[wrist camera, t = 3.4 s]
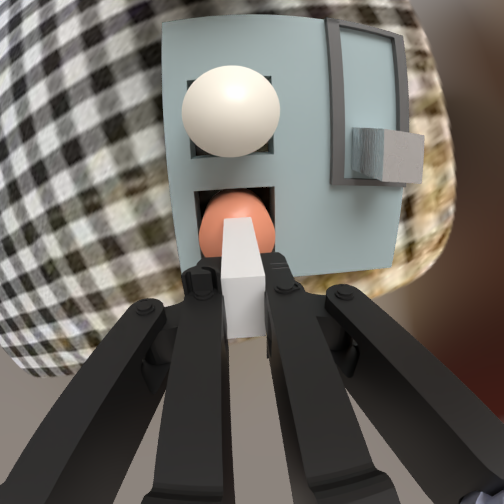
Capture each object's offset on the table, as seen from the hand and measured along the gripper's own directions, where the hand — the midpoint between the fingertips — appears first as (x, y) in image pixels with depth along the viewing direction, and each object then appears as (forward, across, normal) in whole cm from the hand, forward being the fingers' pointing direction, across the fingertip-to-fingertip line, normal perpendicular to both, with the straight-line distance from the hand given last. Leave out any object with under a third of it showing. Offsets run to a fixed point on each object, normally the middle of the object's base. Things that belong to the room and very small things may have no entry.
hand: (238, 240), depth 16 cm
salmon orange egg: (+4, 0, 0) cm, 4 cm away
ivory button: (+2, 0, +7) cm, 7 cm away
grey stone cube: (+2, +9, +5) cm, 10 cm away
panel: (+5, +4, +5) cm, 8 cm away
